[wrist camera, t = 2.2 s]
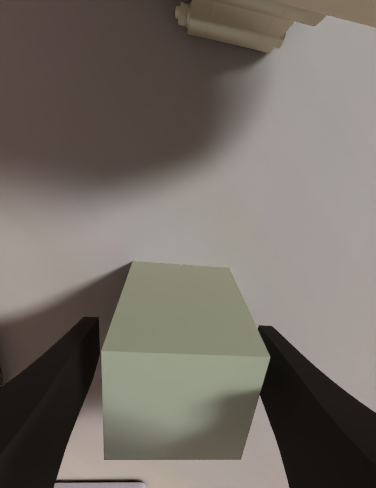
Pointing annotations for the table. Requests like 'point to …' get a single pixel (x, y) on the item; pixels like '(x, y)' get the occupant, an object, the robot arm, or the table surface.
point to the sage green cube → (180, 366)
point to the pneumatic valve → (265, 18)
